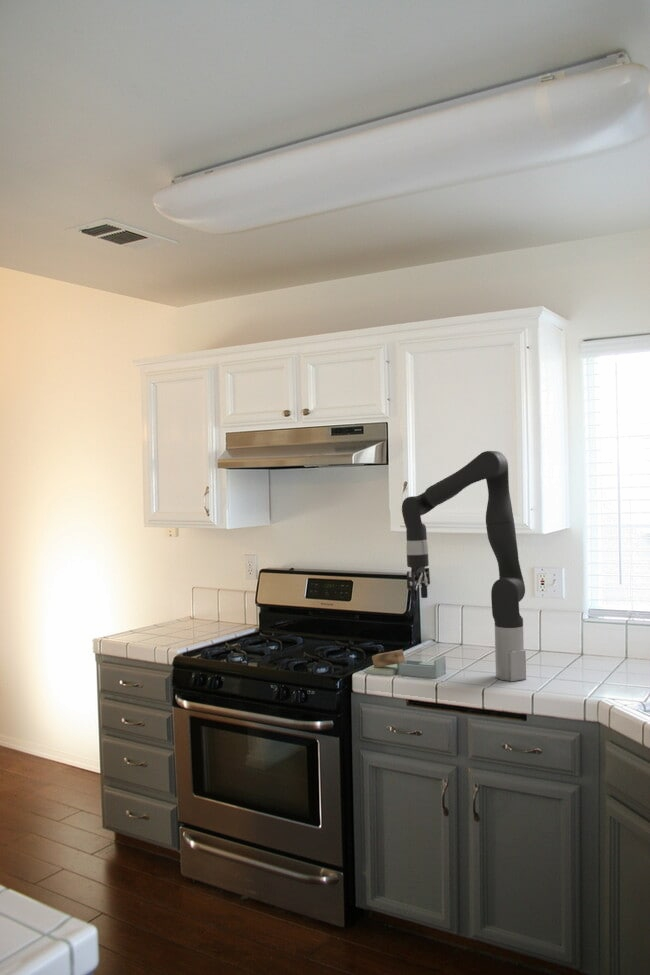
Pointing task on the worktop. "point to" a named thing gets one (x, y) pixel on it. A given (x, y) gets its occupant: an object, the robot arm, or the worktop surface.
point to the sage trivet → (382, 670)
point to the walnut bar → (388, 658)
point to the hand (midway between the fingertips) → (419, 599)
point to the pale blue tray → (423, 668)
